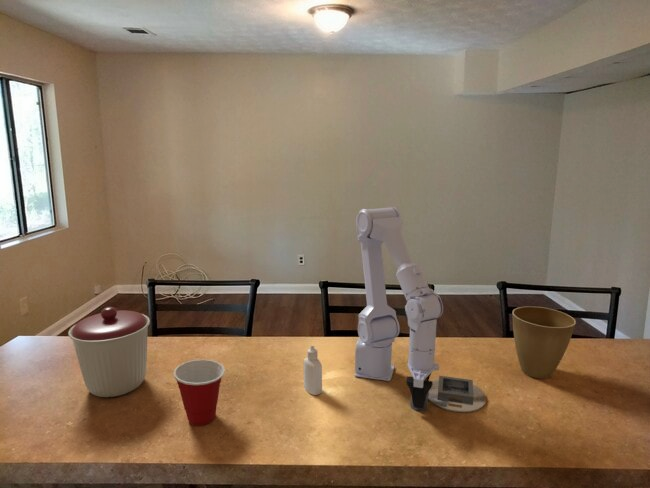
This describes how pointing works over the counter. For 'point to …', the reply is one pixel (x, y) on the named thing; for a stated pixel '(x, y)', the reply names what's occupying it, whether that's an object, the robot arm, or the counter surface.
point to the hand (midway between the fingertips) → (419, 400)
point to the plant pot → (541, 339)
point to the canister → (112, 351)
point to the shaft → (424, 404)
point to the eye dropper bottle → (312, 372)
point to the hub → (456, 394)
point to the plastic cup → (199, 389)
